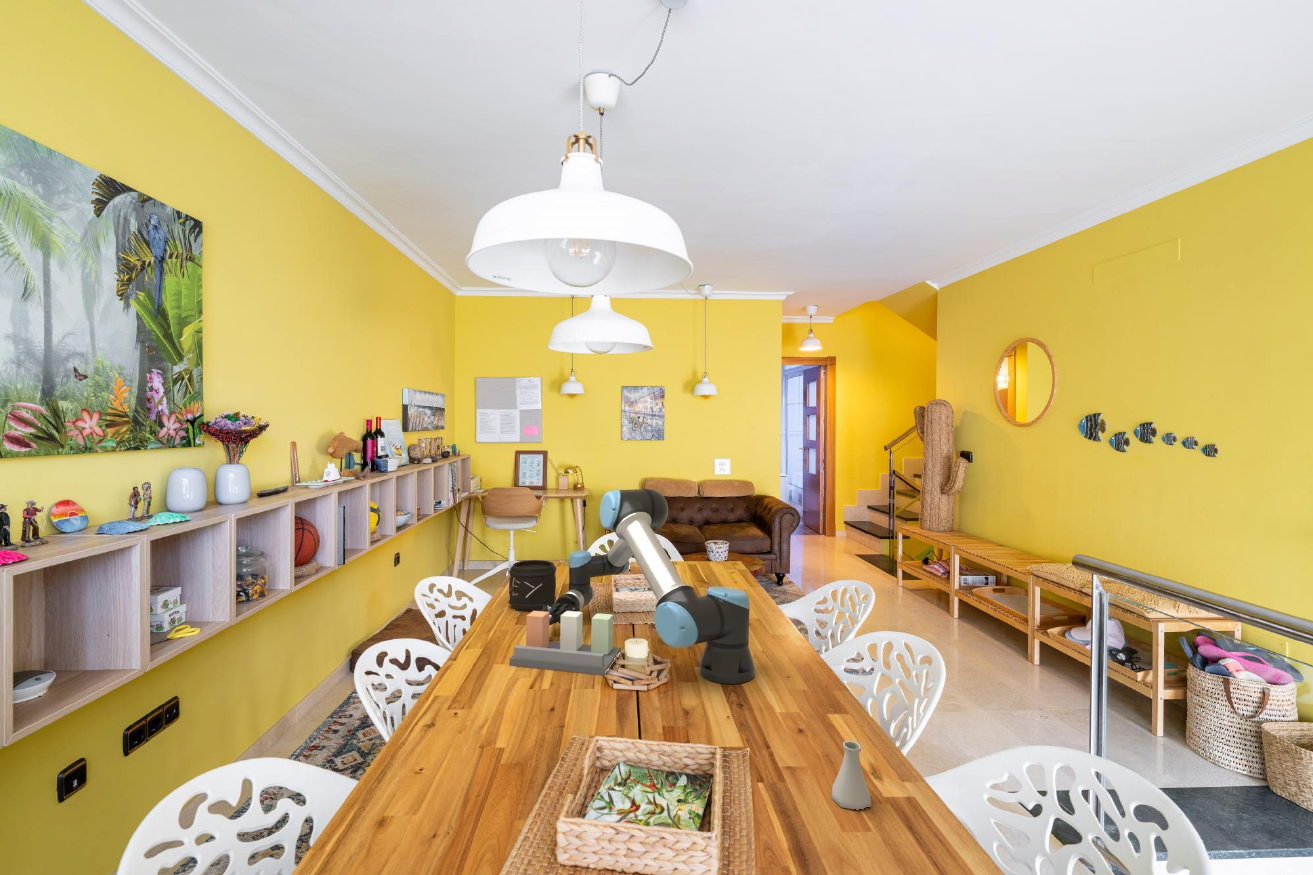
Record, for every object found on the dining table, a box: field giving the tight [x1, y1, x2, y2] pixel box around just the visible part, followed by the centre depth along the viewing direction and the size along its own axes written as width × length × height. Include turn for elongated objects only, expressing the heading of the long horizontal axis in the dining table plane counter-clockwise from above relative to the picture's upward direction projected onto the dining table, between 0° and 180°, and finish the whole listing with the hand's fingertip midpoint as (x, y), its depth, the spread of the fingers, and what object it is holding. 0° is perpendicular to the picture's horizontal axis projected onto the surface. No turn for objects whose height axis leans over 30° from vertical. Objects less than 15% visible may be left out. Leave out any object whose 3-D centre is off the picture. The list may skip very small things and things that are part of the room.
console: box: [509, 640, 622, 676], centre depth 176 cm, size 28×16×5 cm, turn 77°
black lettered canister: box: [508, 559, 557, 613], centre depth 228 cm, size 18×18×16 cm
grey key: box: [559, 611, 584, 651], centre depth 179 cm, size 5×5×10 cm
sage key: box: [590, 613, 614, 655], centre depth 177 cm, size 5×5×10 cm
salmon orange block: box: [525, 611, 550, 648], centre depth 179 cm, size 5×5×10 cm
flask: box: [831, 740, 872, 811], centre depth 111 cm, size 7×7×10 cm
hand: (541, 625), depth 181 cm, fingers closed
